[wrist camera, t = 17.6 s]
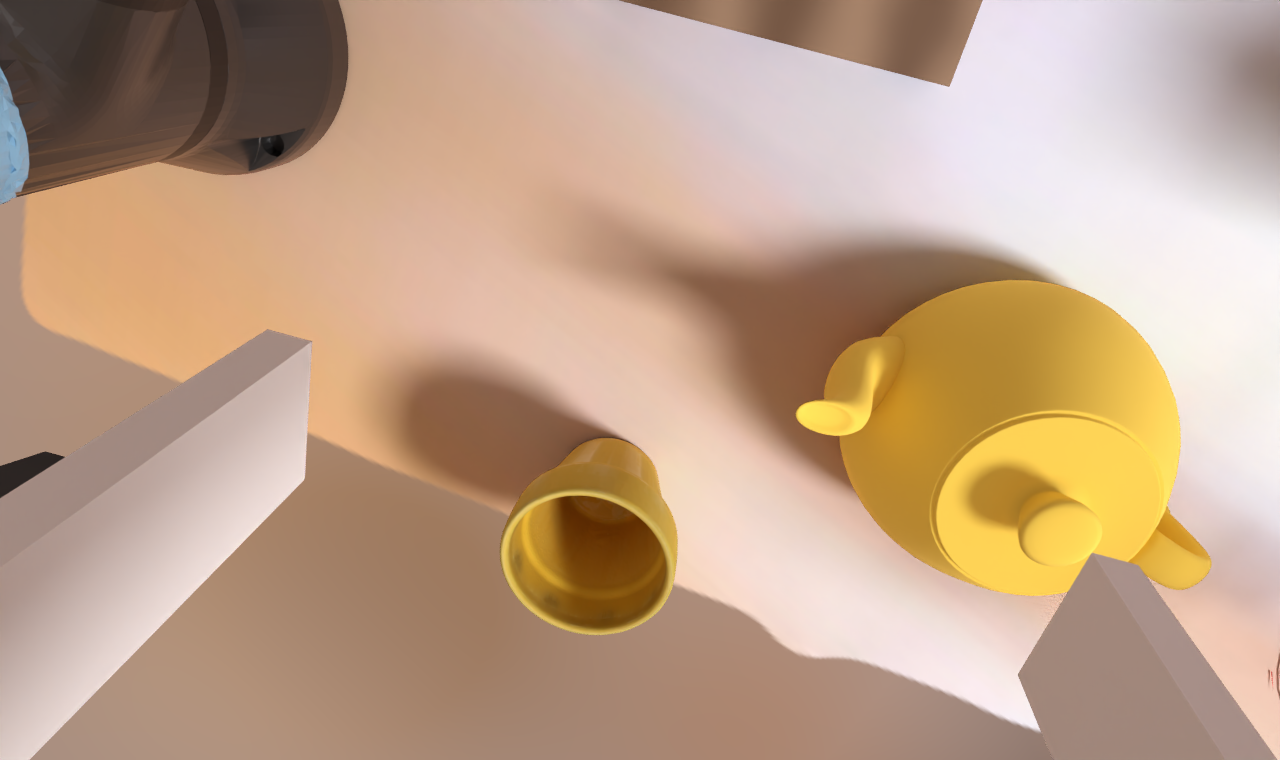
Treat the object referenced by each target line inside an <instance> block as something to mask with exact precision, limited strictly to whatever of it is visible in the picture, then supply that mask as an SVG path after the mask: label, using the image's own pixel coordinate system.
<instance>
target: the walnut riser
mask: <svg viewBox="0 0 1280 760" xmlns="http://www.w3.org/2000/svg"><path fill="white" fill-rule="evenodd" d="M620 1H624V2H628V3H631V4H635V5H639V6H643V7H647V8H650V9H654V10H658V11H662V12H666V13H670V14H673V15H677V16H681V17H685V18H689V19H692V20H696V21H700V22H704V23H708V24H712V25H715V26H719V27H723V28H727V29H731V30H734V31H738V32H742V33H746V34H750V35H754V36H757V37H761V38H765V39H769V40H773V41H776V42H780V43H784V44H788V45H792V46H796V47H799V48H803V49H807V50H811V51H815V52H818V53H822V54H826V55H830V56H834V57H838V58H841V59H845V60H849V61H853V62H857V63H860V64H864V65H868V66H872V67H876V68H880V69H883V70H887V71H891V72H895V73H899V74H902V75H906V76H910V77H914V78H918V79H922V80H925V81H929V82H933V83H937V84H941V85H944V86H948V87H949V86H950V84H951V81H952V78H953V76H954V73H955V71H956V68H957V65H958V63H959V60H960V58H961V55H962V52H963V50H964V47H965V45H966V42H967V39H968V37H969V34H970V32H971V29H972V26H973V24H974V21H975V19H976V16H977V13H978V11H979V8H980V6H981V3H982V0H620Z"/></svg>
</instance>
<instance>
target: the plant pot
mask: <svg viewBox="0 0 1280 760" xmlns="http://www.w3.org/2000/svg"><path fill="white" fill-rule="evenodd" d="M500 562H501V566H502V570H503V574H504V576H505V579H506V581H507V582H508V585H509V587H510V588H511V590H512V591H513V593H514V594H515V595H516V597H517V598H518V599H519V600H520V602H521V603H522V604H523V605H524V606H525V607H526V608H527V609H529V610H530V611H531V612H532V613H533V614H535V615H536V616H538V617H539V618H541V619H542V620H544V621H546V622H548V623H550V624H552V625H554V626H556V627H559V628H561V629H564V630H567V631H570V632H575V633H579V634H587V635H606V634H613V633H618V632H623V631H626V630H629V629H632V628H634V627H636V626H638V625H640V624H642V623H644V622H645V621H647V620H648V619H650V618H651V617H652V616H653V615H655V613H657V612H658V611H659V610H660V609H661V607H662V606H663V604H664V603H665V601H666V600H667V598H668V596H669V594H670V592H671V589H672V586H673V582H674V577H675V571H676V562H677V530H676V525H675V522H674V519H673V516H672V514H671V511H670V509H669V508H668V506H667V504H666V503H665V501H664V500H663V498H662V496H661V491H660V486H659V480H658V475H657V471H656V469H655V467H654V465H653V463H652V461H651V460H650V459H649V457H648V456H647V455H646V454H645V453H644V452H643V451H641V450H640V449H639V448H637V447H636V446H634V445H632V444H630V443H628V442H626V441H623V440H619V439H614V438H598V439H593V440H590V441H587V442H585V443H583V444H581V445H579V446H578V447H576V448H575V449H574V450H573V451H572V452H571V453H570V454H569V455H568V456H567V457H566V458H565V459H564V460H563V461H562V462H561V463H560V464H559V465H558V467H555V468H553V469H551V470H549V471H547V472H545V473H543V474H542V475H540V476H539V477H537V478H536V479H535V480H534V481H532V482H531V483H530V484H529V485H528V486H527V488H526V489H525V490H524V492H523V493H522V494H521V496H520V498H519V499H518V501H517V503H516V505H515V506H514V508H513V510H512V512H511V514H510V516H509V518H508V520H507V523H506V525H505V528H504V530H503V534H502V537H501V543H500Z"/></svg>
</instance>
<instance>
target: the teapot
mask: <svg viewBox="0 0 1280 760" xmlns="http://www.w3.org/2000/svg"><path fill="white" fill-rule="evenodd" d="M795 415H796V418H797V420H798V421H799V423H800V424H802V425H803V426H804V427H806V428H808V429H810V430H812V431H815V432H818V433H821V434H826V435H833V436H839V439H840V448H841V453H842V457H843V462H844V465H845V468H846V471H847V474H848V477H849V479H850V482H851V484H852V486H853V488H854V490H855V492H856V493H857V495H858V497H859V499H860V500H861V502H862V504H863V505H864V507H865V508H866V510H867V511H868V512H869V514H870V515H871V516H872V518H873V519H874V520H875V521H876V523H877V524H878V525H879V526H880V527H881V529H882V530H883V531H884V532H885V533H886V534H887V535H888V536H889V537H890V538H891V539H892V540H894V541H895V542H896V543H897V544H898V545H900V546H901V547H902V548H903V549H905V550H906V551H907V552H909V553H910V554H911V555H913V556H914V557H915V558H917V559H919V560H921V561H922V562H924V563H926V564H928V565H929V566H931V567H933V568H935V569H937V570H939V571H941V572H943V573H945V574H947V575H950V576H952V577H955V578H957V579H960V580H962V581H965V582H967V583H970V584H973V585H976V586H979V587H982V588H986V589H989V590H993V591H998V592H1004V593H1009V594H1016V595H1028V596H1039V595H1052V594H1060V593H1064V592H1068V591H1069V589H1070V588H1071V586H1072V584H1073V583H1074V581H1075V579H1076V578H1077V576H1078V575H1079V573H1080V571H1081V570H1082V568H1083V566H1084V565H1085V563H1086V561H1087V560H1088V558H1089V556H1090V555H1091V553H1096V554H1099V555H1103V556H1107V557H1110V558H1114V559H1118V560H1121V561H1125V562H1129V563H1132V564H1136V565H1139V567H1140V568H1141V570H1142V571H1143V572H1144V574H1145V575H1146V576H1147V577H1149V578H1150V579H1152V580H1154V581H1155V582H1157V583H1159V584H1161V585H1163V586H1165V587H1168V588H1171V589H1175V590H1184V589H1187V588H1190V587H1192V586H1194V585H1196V584H1197V583H1199V582H1200V581H1201V580H1202V579H1203V578H1204V577H1205V576H1206V575H1207V574H1208V572H1209V570H1210V568H1211V559H1210V556H1209V555H1208V553H1207V552H1206V551H1205V549H1204V548H1203V547H1202V546H1201V545H1200V544H1199V543H1198V542H1197V540H1196V539H1195V538H1194V537H1193V536H1192V535H1191V534H1190V533H1189V532H1188V531H1187V530H1186V529H1185V528H1184V527H1183V526H1182V525H1181V524H1180V523H1179V522H1178V521H1177V520H1176V519H1175V518H1174V517H1173V516H1172V515H1171V514H1170V510H1169V508H1168V506H1167V504H1168V501H1169V498H1170V494H1171V491H1172V488H1173V485H1174V481H1175V478H1176V475H1177V468H1178V461H1179V454H1180V447H1181V440H1180V423H1179V416H1178V410H1177V405H1176V400H1175V397H1174V394H1173V392H1172V389H1171V387H1170V384H1169V381H1168V379H1167V376H1166V374H1165V371H1164V370H1163V368H1162V366H1161V364H1160V363H1159V361H1158V359H1157V358H1156V356H1155V354H1154V353H1153V351H1152V349H1151V348H1150V346H1149V345H1148V343H1147V342H1146V341H1145V340H1144V339H1143V337H1142V336H1141V335H1140V334H1139V333H1138V332H1137V330H1136V329H1135V328H1133V327H1132V326H1131V325H1130V324H1129V323H1128V322H1127V321H1126V320H1125V319H1123V318H1122V317H1121V316H1120V315H1119V314H1118V313H1116V312H1115V311H1114V310H1113V309H1111V308H1110V307H1108V306H1106V305H1105V304H1103V303H1102V302H1100V301H1098V300H1097V299H1095V298H1093V297H1091V296H1088V295H1086V294H1084V293H1081V292H1079V291H1077V290H1074V289H1071V288H1067V287H1064V286H1060V285H1057V284H1053V283H1046V282H1039V281H1032V280H1004V281H993V282H984V283H980V284H975V285H970V286H966V287H962V288H959V289H956V290H953V291H950V292H947V293H944V294H942V295H940V296H938V297H935V298H933V299H931V300H929V301H927V302H925V303H923V304H921V305H920V306H918V307H917V308H915V309H913V310H912V311H910V312H908V313H907V314H906V315H904V316H903V317H902V318H900V319H899V320H898V321H897V322H895V323H894V324H893V325H892V326H890V327H889V328H888V329H887V330H886V331H885V332H884V333H883V334H882V335H881V336H880V337H872V338H868V339H864V340H860V341H857V342H855V343H854V344H852V345H850V346H849V347H848V348H847V349H846V350H845V351H844V352H843V353H842V354H841V355H839V357H838V358H837V360H836V361H835V362H834V364H833V365H832V368H831V370H830V372H829V374H828V377H827V380H826V384H825V388H824V399H823V400H814V401H809V402H806V403H804V404H802V405H800V406H799V408H798V409H797V411H796V414H795Z"/></svg>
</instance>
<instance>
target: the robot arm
mask: <svg viewBox="0 0 1280 760" xmlns="http://www.w3.org/2000/svg"><path fill="white" fill-rule="evenodd" d="M347 72H348V44H347V35H346V29H345V23H344V19H343V15H342V11H341V8H340V5H339V1H338V0H0V204H3V203H6V202H8V201H10V199H11V198H15V197H19V196H23V195H27V194H31V193H35V192H39V191H43V190H47V189H51V188H55V187H59V186H63V185H67V184H71V183H75V182H79V181H83V180H87V179H91V178H94V177H98V176H102V175H106V174H110V173H114V172H118V171H122V170H126V169H130V168H134V167H138V166H142V165H147V164H151V163H155V162H162V163H166V164H170V165H175V166H179V167H184V168H188V169H193V170H197V171H201V172H206V173H212V174H220V175H241V174H250V173H255V172H259V171H263V170H266V169H269V168H273V167H276V166H280V165H283V164H285V163H288V162H290V161H292V160H294V159H296V158H298V157H299V156H301V155H303V154H304V153H306V152H307V151H308V150H310V149H311V148H312V147H313V146H314V145H315V144H316V143H317V142H318V141H319V140H320V139H321V138H322V137H323V135H324V134H325V133H326V131H327V130H328V128H329V127H330V125H331V124H332V122H333V120H334V118H335V116H336V114H337V112H338V110H339V107H340V104H341V101H342V98H343V95H344V91H345V86H346V80H347ZM311 353H312V341H309V340H305V339H301V338H297V337H294V336H290V335H286V334H283V333H279V332H275V331H272V330H268V329H267V330H266V331H264V332H263V333H261V334H259V335H258V336H256V337H255V338H253V339H252V340H250V341H248V342H247V343H245V344H244V345H242V346H241V347H239V348H237V349H236V350H234V351H233V352H231V353H229V354H228V355H226V356H225V357H223V358H222V359H220V360H218V361H217V362H215V363H214V364H212V365H210V366H209V367H207V368H206V369H204V370H203V371H201V372H199V373H198V374H196V375H195V376H193V377H191V378H190V379H188V380H187V381H185V382H184V383H182V384H180V385H179V386H177V387H176V388H174V389H173V390H171V391H169V392H168V393H166V394H165V395H163V396H161V397H160V398H158V399H157V400H155V401H153V402H152V403H150V404H149V405H147V406H146V407H144V408H142V409H141V410H139V411H138V412H136V413H134V414H133V415H131V416H130V417H128V418H127V419H125V420H123V421H122V422H120V423H119V424H117V425H115V426H114V427H112V428H111V429H109V430H108V431H106V432H104V433H103V434H101V435H100V436H98V437H96V438H95V439H93V440H92V441H90V442H89V443H87V444H85V445H84V446H82V447H81V448H79V449H77V450H76V451H74V452H73V453H71V454H70V455H68V456H66V457H63V456H60V455H56V454H52V453H49V452H42V453H39V454H36V455H33V456H30V457H27V458H24V459H21V460H18V461H14V462H12V463H8V464H5V465H2V466H0V760H29V759H31V757H32V756H34V754H35V753H36V752H37V751H38V750H39V749H40V748H41V747H42V746H43V745H44V744H45V743H46V742H47V741H48V740H49V739H50V738H51V737H52V736H53V735H54V734H55V733H56V732H57V731H58V730H59V729H60V728H61V727H62V726H63V725H64V724H65V723H66V722H67V721H68V720H69V719H70V718H71V717H72V716H73V715H74V714H75V713H76V712H77V711H78V709H80V708H81V707H82V706H83V704H85V703H86V701H87V700H88V699H89V698H90V697H91V696H92V695H93V694H94V693H95V692H96V691H97V690H98V689H99V688H100V687H101V686H102V685H103V684H104V683H105V682H106V681H107V680H108V679H109V678H110V677H111V676H112V675H113V674H114V673H115V672H116V671H117V670H118V669H119V668H120V667H121V666H122V665H123V664H124V663H125V662H126V660H128V658H130V657H131V656H132V654H133V653H135V652H136V651H137V650H138V648H139V647H140V646H141V645H142V644H143V643H144V642H145V641H146V640H147V639H148V638H149V637H150V636H151V635H152V634H153V633H154V632H155V631H156V630H157V629H158V628H159V627H160V626H161V625H162V624H163V623H164V622H165V621H166V620H167V619H168V618H169V617H170V616H171V615H172V614H173V613H174V612H175V611H176V610H177V609H178V608H179V607H180V606H181V604H182V603H184V602H185V601H186V600H187V598H188V597H189V596H190V595H191V594H192V593H193V592H194V591H195V590H196V589H197V588H198V587H199V586H200V585H201V584H202V583H203V582H204V581H205V580H206V579H207V578H208V577H209V576H210V575H211V574H212V573H213V572H214V571H215V570H216V569H217V568H218V567H219V566H220V565H221V564H222V563H223V562H224V561H225V560H226V559H227V558H228V557H229V556H230V555H231V554H232V553H233V552H234V551H235V549H236V548H237V547H238V546H240V544H241V543H242V542H243V541H244V540H245V539H246V538H247V537H248V536H249V535H250V534H251V533H252V532H253V531H254V530H255V529H256V528H257V527H258V526H259V525H260V524H261V523H262V522H263V521H264V520H265V519H266V518H267V517H268V516H269V515H270V514H271V513H272V512H273V511H274V510H275V509H276V508H277V507H278V506H279V505H280V504H281V503H282V502H283V501H284V499H286V498H287V496H289V495H290V494H291V493H292V492H293V490H294V489H295V488H296V487H297V486H298V485H299V484H300V483H301V482H302V481H303V480H304V479H305V463H306V445H307V426H308V408H309V390H310V371H311ZM1018 676H1019V679H1020V681H1021V684H1022V686H1023V689H1024V691H1025V694H1026V696H1027V698H1028V701H1029V703H1030V706H1031V708H1032V711H1033V713H1034V716H1035V718H1036V720H1037V723H1038V725H1039V728H1040V730H1041V733H1042V735H1043V737H1044V740H1045V742H1046V745H1047V747H1048V750H1049V752H1050V755H1051V757H1052V759H1053V760H1277V759H1276V757H1275V756H1274V754H1273V753H1272V752H1271V750H1270V749H1269V747H1268V746H1267V745H1266V743H1265V742H1264V740H1263V739H1262V738H1261V736H1260V735H1259V733H1258V732H1257V731H1256V729H1255V728H1254V726H1253V725H1252V724H1251V722H1250V721H1249V719H1248V718H1247V717H1246V715H1245V714H1244V712H1243V711H1242V710H1241V708H1240V707H1239V705H1238V704H1237V703H1236V701H1235V700H1234V698H1233V697H1232V696H1231V694H1230V693H1229V691H1228V690H1227V689H1226V687H1225V686H1224V684H1223V683H1222V682H1221V680H1220V679H1219V677H1218V676H1217V675H1216V673H1215V672H1214V670H1213V669H1212V668H1211V666H1210V665H1209V663H1208V662H1207V661H1206V659H1205V658H1204V656H1203V655H1202V654H1201V652H1200V651H1199V649H1198V648H1197V647H1196V645H1195V644H1194V642H1193V641H1192V640H1191V638H1190V637H1189V635H1188V634H1187V633H1186V631H1185V630H1184V628H1183V627H1182V626H1181V624H1180V623H1179V621H1178V620H1177V619H1176V617H1175V616H1174V614H1173V613H1172V612H1171V610H1170V609H1169V607H1168V606H1167V605H1166V603H1165V602H1164V600H1163V599H1162V598H1161V596H1160V595H1159V593H1158V592H1157V591H1156V589H1155V588H1154V586H1153V585H1152V584H1151V582H1150V581H1149V579H1148V578H1147V577H1146V575H1145V574H1144V572H1143V571H1142V570H1141V568H1140V567H1139V565H1136V564H1132V563H1129V562H1125V561H1121V560H1118V559H1114V558H1110V557H1107V556H1103V555H1099V554H1096V553H1091V555H1090V556H1089V558H1088V560H1087V561H1086V563H1085V565H1084V566H1083V568H1082V570H1081V571H1080V573H1079V575H1078V576H1077V578H1076V579H1075V581H1074V583H1073V584H1072V586H1071V588H1070V589H1069V591H1068V593H1067V594H1066V596H1065V598H1064V599H1063V601H1062V603H1061V604H1060V606H1059V607H1058V609H1057V611H1056V612H1055V614H1054V616H1053V617H1052V619H1051V621H1050V622H1049V624H1048V626H1047V627H1046V629H1045V631H1044V632H1043V634H1042V636H1041V637H1040V639H1039V640H1038V642H1037V644H1036V645H1035V647H1034V649H1033V650H1032V652H1031V654H1030V655H1029V657H1028V659H1027V660H1026V662H1025V664H1024V665H1023V667H1022V669H1021V670H1020V672H1019V673H1018Z"/></svg>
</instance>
